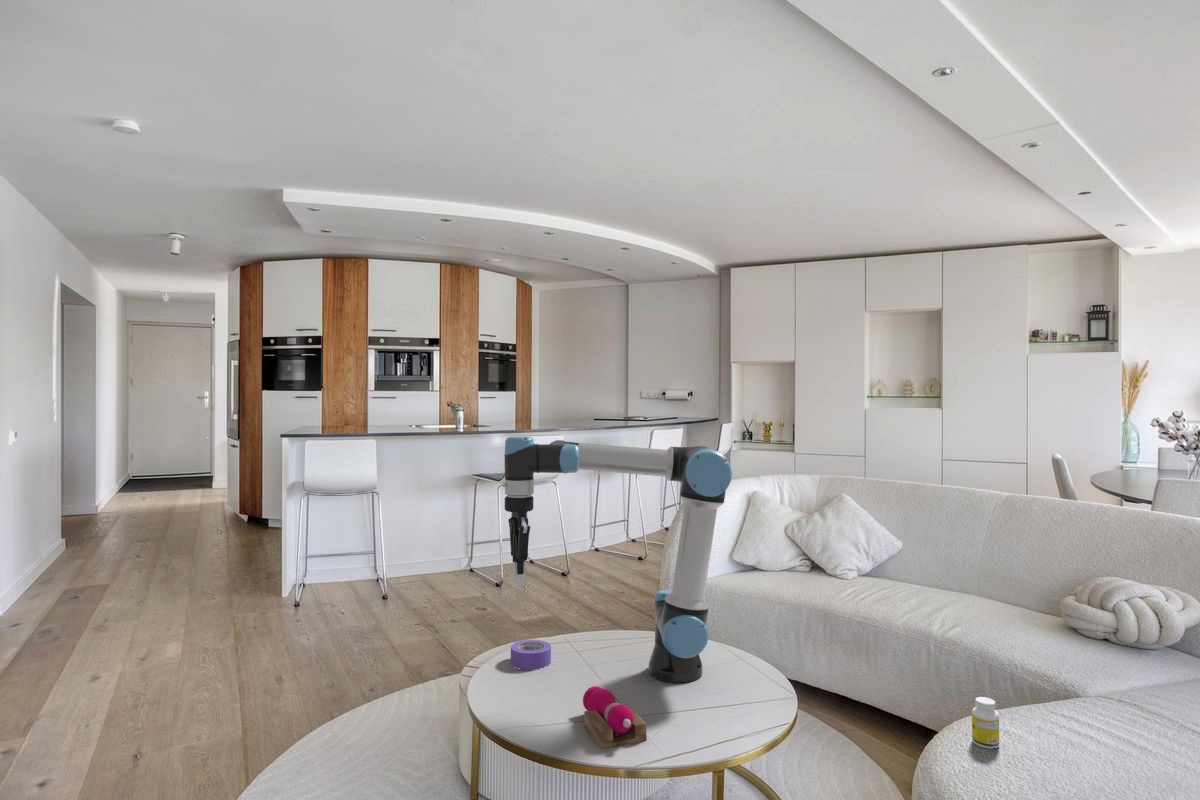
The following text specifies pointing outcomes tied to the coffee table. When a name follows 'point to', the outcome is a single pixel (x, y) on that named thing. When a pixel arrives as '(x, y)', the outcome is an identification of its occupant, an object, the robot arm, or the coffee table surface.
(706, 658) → the coffee table surface
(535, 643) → the tape roll
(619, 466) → the robot arm
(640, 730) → the cradle
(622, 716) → the pepper mill
